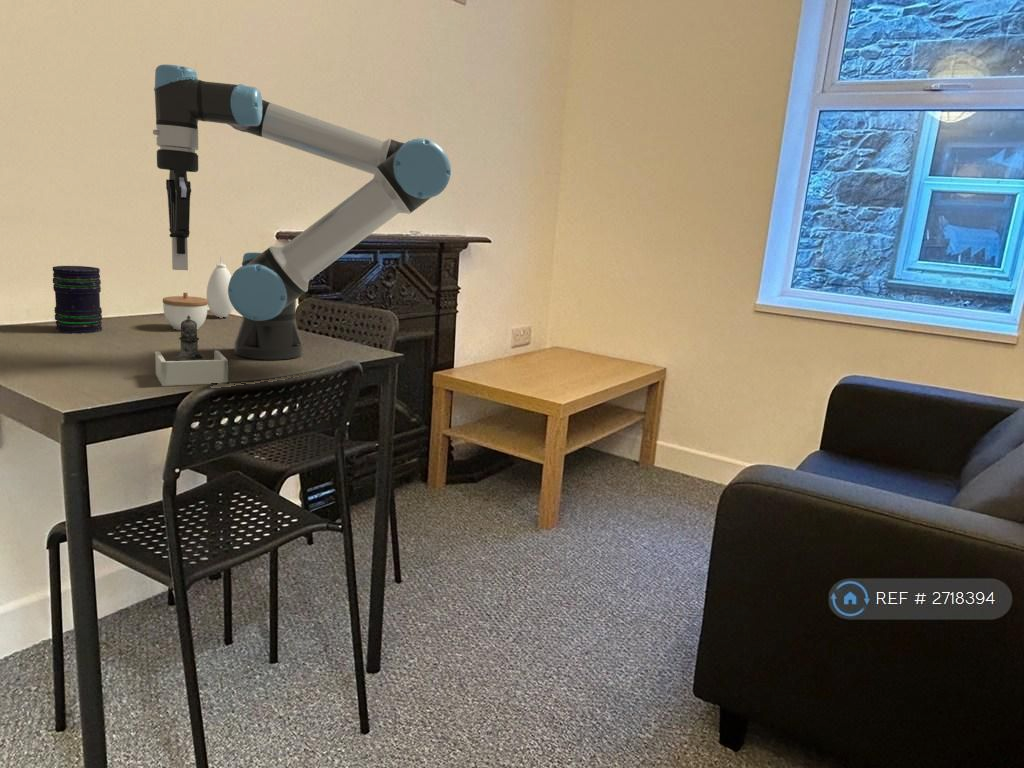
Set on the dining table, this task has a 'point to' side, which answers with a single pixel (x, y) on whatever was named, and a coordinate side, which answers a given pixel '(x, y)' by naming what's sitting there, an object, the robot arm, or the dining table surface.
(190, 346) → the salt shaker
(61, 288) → the storage jar
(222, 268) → the white elongated ovoid
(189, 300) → the lidded jar
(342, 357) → the dining table surface
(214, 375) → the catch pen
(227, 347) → the dining table surface
